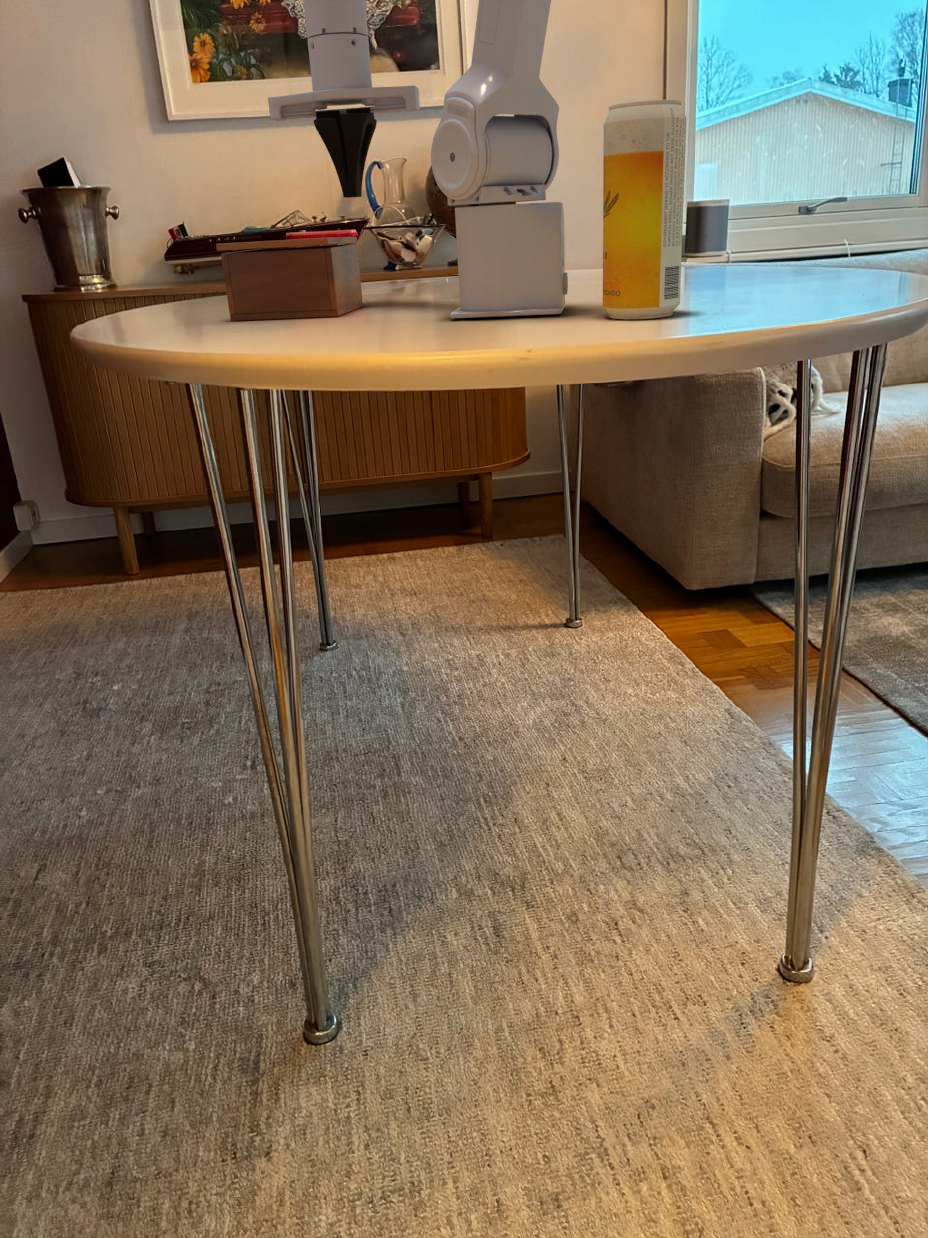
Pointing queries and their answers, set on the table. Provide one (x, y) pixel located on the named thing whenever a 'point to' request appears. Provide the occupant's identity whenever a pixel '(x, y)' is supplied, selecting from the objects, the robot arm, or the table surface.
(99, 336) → the table surface
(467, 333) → the table surface
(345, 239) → the lid
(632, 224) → the beer can
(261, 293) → the chest
